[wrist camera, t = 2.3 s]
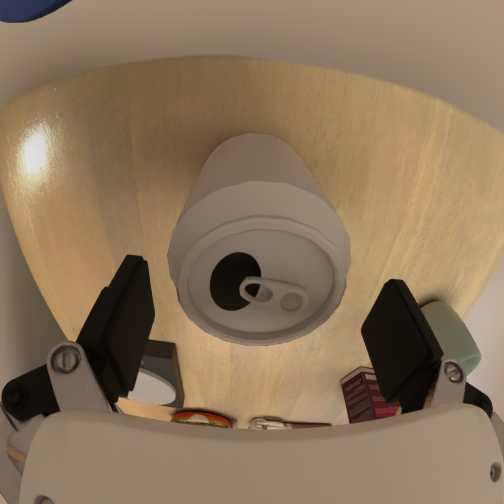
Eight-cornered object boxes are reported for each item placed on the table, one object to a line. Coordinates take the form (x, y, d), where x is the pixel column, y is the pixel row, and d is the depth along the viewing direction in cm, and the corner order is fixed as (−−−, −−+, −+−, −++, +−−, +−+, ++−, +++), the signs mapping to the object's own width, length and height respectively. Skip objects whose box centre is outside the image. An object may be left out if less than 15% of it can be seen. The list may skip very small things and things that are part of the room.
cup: (404, 340, 32) (427, 400, 24) (393, 314, 28) (423, 384, 20) (449, 313, 30) (479, 369, 21) (445, 281, 26) (485, 344, 18)
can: (211, 121, 17) (160, 180, 7) (317, 144, 18) (400, 231, 8) (196, 216, 21) (159, 344, 11) (288, 233, 22) (318, 363, 12)
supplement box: (338, 380, 37) (356, 473, 24) (360, 365, 35) (384, 463, 22) (371, 385, 40) (390, 465, 27) (391, 372, 37) (416, 454, 24)
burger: (162, 403, 42) (155, 451, 34) (236, 408, 42) (236, 459, 34) (176, 425, 49) (172, 464, 41) (236, 429, 50) (236, 469, 42)
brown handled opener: (341, 418, 49) (344, 429, 47) (326, 427, 52) (327, 437, 50) (257, 414, 44) (257, 428, 42) (245, 422, 47) (245, 435, 45)
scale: (85, 327, 29) (77, 346, 27) (175, 343, 30) (171, 364, 28) (115, 384, 38) (111, 399, 36) (184, 396, 39) (182, 412, 37)
